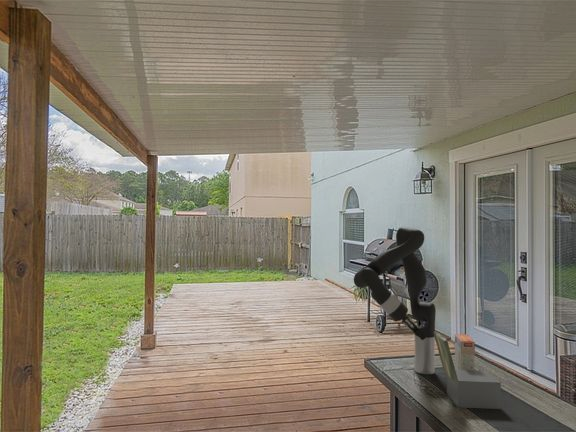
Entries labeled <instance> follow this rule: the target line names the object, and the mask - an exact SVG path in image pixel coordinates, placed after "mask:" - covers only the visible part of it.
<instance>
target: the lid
mask: <svg viewBox="0 0 576 432" xmlns="http://www.w3.org/2000/svg"><path fill="white" fill-rule="evenodd" d="M433 333H434V336H435V344H436V346H437V347H436V348H437V350H438V355H439V358H440V362H441V364H442V366H441V367H442V369H443V371H444V372H445V373H446V375H447V374H448V376H449V377H450V378H452V379H453V380H454V381H455V382H458V378H457V375H456V371H455V362H454V360H453V356H452V354H451V349H450V346H449V341H448V339H446V338H445V337H444V336H443V335H441V334H440V333H439V332H438V331H435V332H433Z"/></svg>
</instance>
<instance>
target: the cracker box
mask: <svg viewBox="0 0 576 432" xmlns="http://www.w3.org/2000/svg"><path fill="white" fill-rule="evenodd" d="M475 348H476V347H475V341H474V340H473V339H472V338H471V337H470V336H469V335H468V334H462V333H461V334H459V333H456V334H454V367H455V370H475V365H476V364H475V362H476V361H475V353H476V352H475Z"/></svg>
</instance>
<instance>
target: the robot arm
mask: <svg viewBox="0 0 576 432" xmlns="http://www.w3.org/2000/svg"><path fill="white" fill-rule="evenodd" d="M395 234H396V235H395V240H396V247H393V248H390V249H387V250H384V251H383V252H381V253H379V254H378V255H377V256H375V257H374V258H373V259H372V260H371V261H370V262H369V263H368V264H366V265H365V266H363V267H362V268H361V269H360V270H358V271H356V273H355V274H354V276H353V283H354V285H355V286H356V287H357V288H361V289H365V288H367V287H368V288H369V289H370V291H371V292H370V296H371V298H372V299H373V301H375V302H376V303H377V304H378V305H379V307H380V308H381V309H382V310H383V311H384V312H385V314H387V316H389V317H390V319H392V320H393V322H395V323H396V322H401V324H403V326H405V327H406V328H408V330H409V331H410V332H411V331H412V332H413V334H414V372H416V373H418V374H420V375H434V374H435V370H436V367H435V366H436V365H435V362H436V361H435V357H436V356H435V352H436V351H435V348H436V345H435V344H436V340H435V336H434V333H433V332H436V310H437V309H436V306H435V304H434V303H432V302H427V301H420V300H419V297H420V296H421V295H420V294H421V293H422V291H423V290H424V289H425V287H426V286H427V285H426V284H427V281H428V280H427V275H426V269H425V266H424V265H423V263H422V262H421V261H420V259H419V258H418V257H417V256H416V254H415V252H416V251H417V250H419V249H420V248H421V247H422V246H423V244H424V242H425V234H424V232H423V231H421V230H420V229H417V228H413V227H409V226H401V227H399V228H398V229H397V231H396V233H395ZM399 261H402V265H403V271H404V276H405V282H406V285H407V290H408V296H409V305H410V312H411V317H410V316H409V315H407V313H408V312H409V308H408V307H407V306H406V305H405V304H404V303H403V302H402V301H401V300H400V299H399V298H398V297H397V296H396V295H395V294H393V292H392V291H390V290H389V289H388V288H387V287H386V286H385V284H384V282H383V281H382V279H381V278H380V276H382V275H383V274H385V273H386V271H388V270H389V269H390V268H391V267H392V266H394V265H395V264H396V263H398V262H399ZM415 321H418V322H425V323H426V325H423V326H420V327H418V325H417V323H416V322H415Z"/></svg>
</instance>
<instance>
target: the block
mask: <svg viewBox="0 0 576 432" xmlns="http://www.w3.org/2000/svg"><path fill="white" fill-rule="evenodd" d="M455 371H456V375H457V378H458V382H455V381H454V380H453V379H452V378H450V377H449V376H448V374H447V373H446V394H447V396H448V397H449V398H450V399H451V400H453V401H452V402H453V403H454V404H455V405H456V407H457V408H463V409H464V408H466V409H467V408H468V409H469V408H470V409H489V410H490V409H491V410H502V384H501V383H502V382H501V381H500V380H499V379H497V378H496V377H495V376H493V375H492V374H491V373H490V372H488V371H487V370H478V369H474V370H455Z"/></svg>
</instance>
